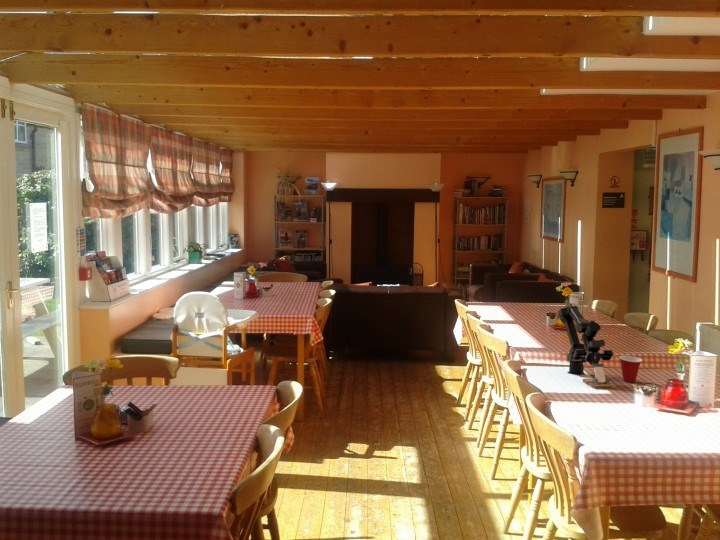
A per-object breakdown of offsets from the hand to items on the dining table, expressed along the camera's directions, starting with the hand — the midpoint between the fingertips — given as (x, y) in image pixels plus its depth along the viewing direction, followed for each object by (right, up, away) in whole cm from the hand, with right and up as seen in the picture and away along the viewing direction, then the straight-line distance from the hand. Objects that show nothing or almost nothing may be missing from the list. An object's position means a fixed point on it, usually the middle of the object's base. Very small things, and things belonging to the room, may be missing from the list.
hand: (597, 369), depth 351 cm
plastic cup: (+20, -8, +10) cm, 24 cm away
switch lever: (0, -6, -6) cm, 8 cm away
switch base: (0, -8, -1) cm, 8 cm away
